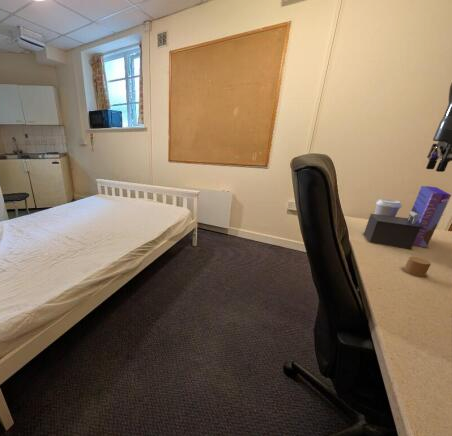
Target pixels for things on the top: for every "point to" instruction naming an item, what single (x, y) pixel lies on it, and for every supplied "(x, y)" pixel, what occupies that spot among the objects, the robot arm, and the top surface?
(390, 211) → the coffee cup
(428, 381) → the top surface
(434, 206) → the cereal box
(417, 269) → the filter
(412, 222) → the lid
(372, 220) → the dark hinged box
